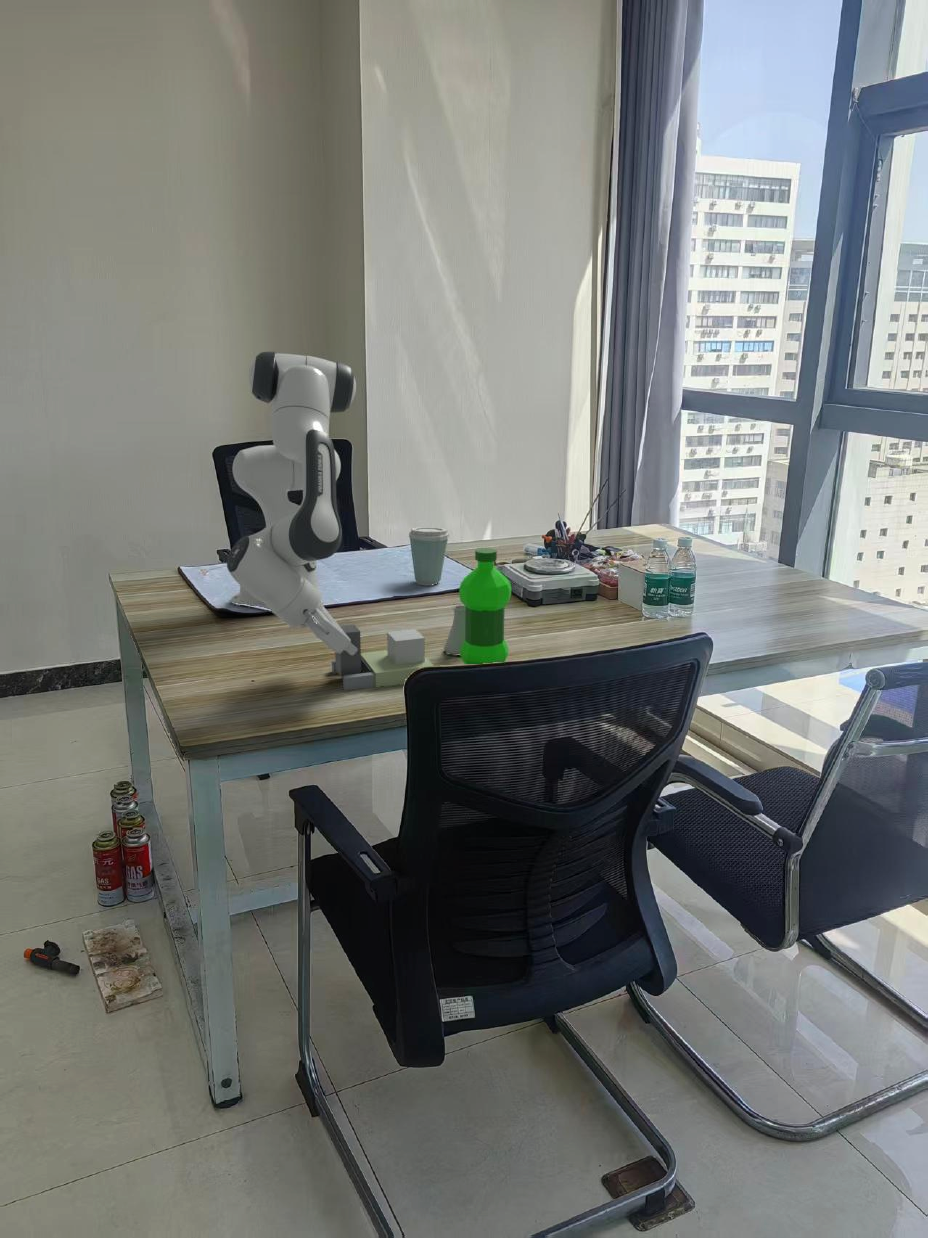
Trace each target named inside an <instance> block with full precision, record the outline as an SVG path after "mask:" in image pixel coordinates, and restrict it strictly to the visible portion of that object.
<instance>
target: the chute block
mask: <svg viewBox="0 0 928 1238" xmlns="http://www.w3.org/2000/svg"><path fill="white" fill-rule="evenodd" d="M339 626H340V627H341V629H342V630H343V631H344V632H345V633H346V635H347V636H348V637H349V638H350V640H351V643H352V644H353V645H355V646H356V647H357V649H358V651H357V652H356V653H355V654H354V655H350V654H349V653H348V652H347V651H345V650H343V652H342V653H340V654H338V653H336V652H335V651H334V652H335V657H334V659H336V670H337V672H338V673H337V674H338V675H339V677H341V678H343V676H344V675H353V674H361V673H362V670H361V653H362V651H361V650H362V649H361V648H362V645H361V644H362V643H361V631H360V629H359V628H358V626H356V624H346V625H339Z"/></svg>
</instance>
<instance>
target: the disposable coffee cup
mask: <svg viewBox="0 0 928 1238" xmlns="http://www.w3.org/2000/svg"><path fill="white" fill-rule="evenodd" d="M408 537H409V542H410V549H411V550H410V551H411V556H412V557H411V560H412V566H413V574H414V580H415V582H417V583H416V584H417V585H420V584H421V586H427V585H430V586H433V585H432V584H436V583H438V582H439V581H440V582H441V580H442V579H441V578H442V574H443V568H444V562H445V557H446V556H445V555H446V552H447V545H448V542H449V541H448V539H449V538H450V533H449V532H448V530H447V529H446V528H445V527H444V528H443V527H437V526H436V527H435V526H419V527H413V528H412V529H411V530H410V532H409V533H408ZM440 582H439V583H440Z"/></svg>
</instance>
